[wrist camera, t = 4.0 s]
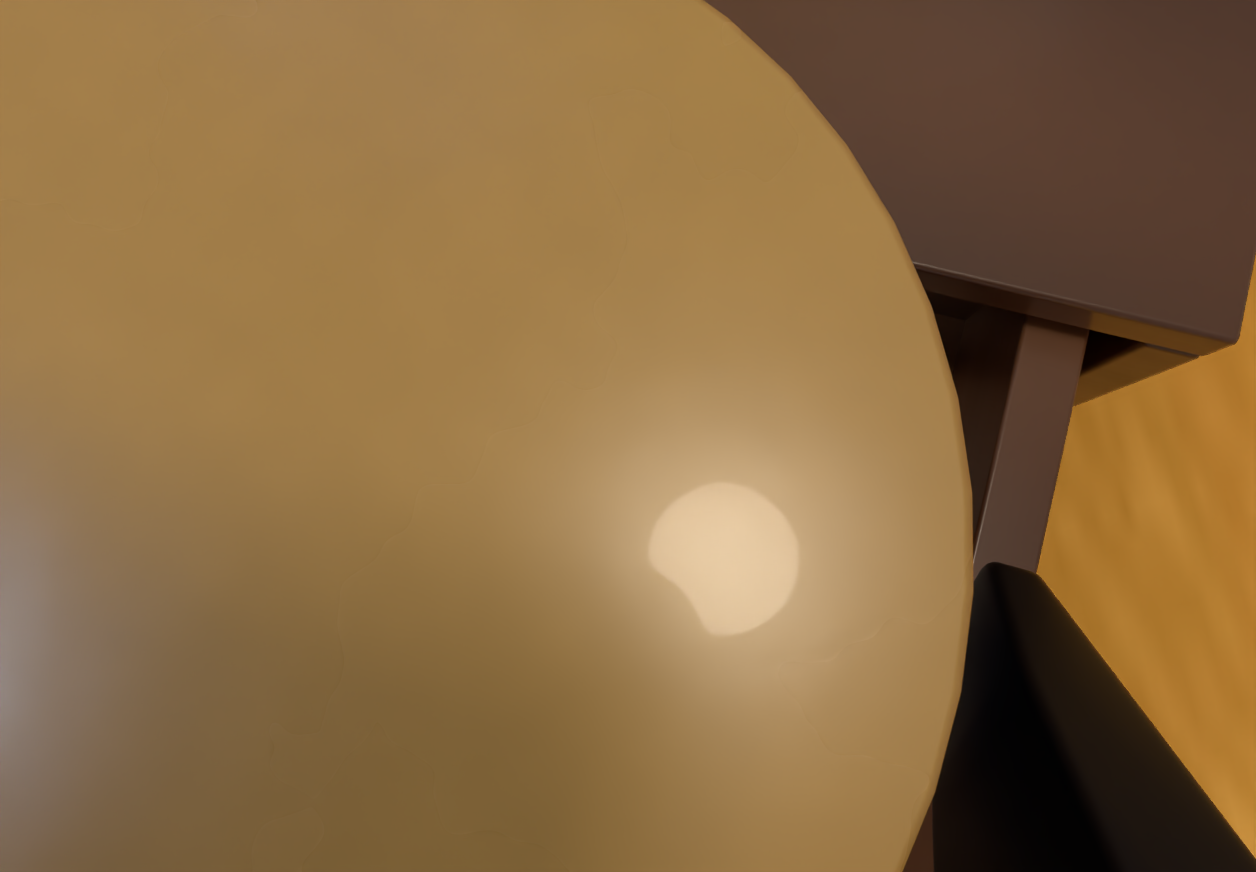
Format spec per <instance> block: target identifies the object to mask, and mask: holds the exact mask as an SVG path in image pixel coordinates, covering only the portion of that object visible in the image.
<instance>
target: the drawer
mask: <svg viewBox="0 0 1256 872" xmlns="http://www.w3.org/2000/svg"><path fill="white" fill-rule="evenodd" d="M925 292H926V294H927V297H928V299H929V301H930V303H931V306H932V309H933V312H934V316H935V319H936V323H937V326H938V329H939V333H940V336H941V340H942V343H943V347H944V350H945V354H946V357H947V361H948V364H949V367H950V371H951V374H952V378H953V381H954V385H955V388H956V392H957V395H958V400H959V407H960V414H961V420H962V427H963V434H964V441H965V447H966V454H967V461H968V468H969V474H970V481H971V488H972V514H973V582H974V580H975V579H976V577H977V575H978V573H979V572H980V570H981V569H982V568H983V567H984V566H985V565H986V564H987V563H991V562H1000V563H1003V564H1007V565H1011V566H1014V567H1018V568H1022V569H1025V570H1029V571H1032V572H1034V573H1036V572H1037V567H1038V563H1039V558H1040V554H1041V549H1042V545H1043V540H1044V535H1045V531H1046V526H1047V522H1048V517H1049V513H1050V508H1051V504H1052V499H1053V494H1054V490H1055V485H1056V481H1057V476H1058V472H1059V467H1060V463H1061V458H1062V454H1063V449H1064V444H1065V440H1066V435H1067V431H1068V426H1069V422H1070V417H1071V413H1072V408H1073V403H1074V399H1075V394H1076V390H1077V385H1078V381H1079V376H1080V372H1081V367H1082V362H1083V358H1084V353H1085V349H1086V344H1087V340H1088V335H1089V331H1090V329H1086V328H1081V327H1077V326H1073V325H1069V324H1065V323H1060V322H1056V321H1052V320H1048V319H1044V318H1039V317H1035V316H1031V315H1027V314H1023V313H1018V312H1014V311H1010V310H1006V309H1002V308H997V307H993V306H989V305H985V304H981V303H976V302H972V301H968V300H964V299H960V298H955V297H951V296H947V295H943V294H939V293H934V292H930V291H926V290H925ZM903 872H934V863H933V833H932V802H931V804H930V807H929V809H928V812H927V814H926V817H925V819H924V821H923V824H922V826H921V829H920V831H919V834H918V836H917V839H916V841H915V843H914V846H913V848H912V851H911V853H910V856H909V858H908V861H907V863H906V865H905V868H904V870H903Z"/></svg>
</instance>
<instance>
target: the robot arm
mask: <svg viewBox="0 0 1256 872" xmlns="http://www.w3.org/2000/svg"><path fill="white" fill-rule="evenodd" d="M973 587H974V592H973V600H972V609H971V617H970V625H969V633H968V642H967V650H966V658H965V667H964V675H963V683H962V692H961V696H960V700H959V703H958V707H957V711H956V715H955V719H954V723H953V727H952V730H951V734H950V738H949V742H948V746H947V750H946V754H945V757H944V761H943V765H942V769H941V773H940V777H939V781H938V784H937V788H936V792H935V795H934V797H933V799H932V833H933V863H934V872H1256V859H1255V857H1254V856H1253V855H1252V853H1251V852H1250V851H1249V849H1248V848H1247V847H1246V846H1245V844H1244V843H1243V842H1242V840H1241V839H1240V838H1239V836H1238V835H1237V834H1236V832H1235V831H1234V830H1233V828H1232V827H1231V826H1230V825H1229V823H1228V822H1227V821H1226V819H1225V818H1224V817H1223V815H1222V814H1221V813H1220V811H1219V810H1218V809H1217V808H1216V806H1215V805H1214V804H1213V802H1212V801H1211V800H1210V798H1209V797H1208V796H1207V794H1206V793H1205V792H1204V790H1203V789H1202V788H1201V787H1200V785H1199V784H1198V783H1197V781H1196V780H1195V779H1194V777H1193V776H1192V775H1191V773H1190V772H1189V771H1188V769H1187V768H1186V767H1185V766H1184V764H1183V763H1182V762H1181V760H1180V759H1179V758H1178V756H1177V755H1176V754H1175V752H1174V751H1173V750H1172V748H1171V747H1170V746H1169V745H1168V743H1167V742H1166V741H1165V739H1164V738H1163V737H1162V735H1161V734H1160V733H1159V731H1158V730H1157V729H1156V727H1155V726H1154V725H1153V724H1152V722H1151V721H1150V720H1149V718H1148V717H1147V716H1146V714H1145V713H1144V712H1143V710H1142V709H1141V708H1140V707H1139V705H1138V704H1137V703H1136V701H1135V700H1134V699H1133V697H1132V696H1131V695H1130V693H1129V692H1128V691H1127V689H1126V688H1125V687H1124V686H1123V684H1122V683H1121V682H1120V680H1119V679H1118V678H1117V676H1116V675H1115V674H1114V672H1113V671H1112V670H1111V668H1110V667H1109V666H1108V665H1107V663H1106V662H1105V661H1104V659H1103V658H1102V657H1101V655H1100V654H1099V653H1098V651H1097V650H1096V649H1095V647H1094V646H1093V645H1092V644H1091V642H1090V641H1089V640H1088V638H1087V637H1086V636H1085V634H1084V633H1083V632H1082V630H1081V629H1080V628H1079V626H1078V625H1077V624H1076V623H1075V621H1074V620H1073V619H1072V617H1071V616H1070V615H1069V613H1068V612H1067V611H1066V609H1065V608H1064V607H1063V605H1062V604H1061V603H1060V602H1059V600H1058V599H1057V598H1056V596H1055V595H1054V594H1053V592H1052V591H1051V590H1050V588H1049V587H1048V586H1047V585H1046V583H1045V582H1044V581H1043V580H1042V578H1041V577H1040V576H1039V575H1037V574H1036V573H1034V572H1032V571H1029V570H1025V569H1022V568H1018V567H1014V566H1011V565H1007V564H1003V563H1000V562H991V563H987V564H986V565H985V566H984V567H983V568H982V569H981V570H980V572H979V573H978V575H977V577H976V579H975V580H974V582H973Z"/></svg>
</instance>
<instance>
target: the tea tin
mask: <svg viewBox="0 0 1256 872" xmlns="http://www.w3.org/2000/svg"><path fill="white" fill-rule="evenodd" d="M973 592H974V587H973V514H972V488H971V481H970V474H969V468H968V461H967V454H966V447H965V441H964V434H963V427H962V420H961V414H960V407H959V400H958V395H957V392H956V388H955V385H954V381H953V378H952V374H951V371H950V367H949V364H948V361H947V357H946V354H945V350H944V347H943V343H942V340H941V336H940V333H939V329H938V326H937V323H936V319H935V316H934V312H933V309H932V306H931V303H930V301H929V299H928V297H927V294H926V292H925V290H924V288H923V285H922V283H921V281H920V279H919V276H918V274H917V272H916V269H915V267H914V265H913V263H912V260H911V258H910V256H909V254H908V251H907V249H906V247H905V245H904V242H903V240H902V238H901V236H900V233H899V231H898V229H897V226H896V224H895V222H894V221H893V219H892V217H891V216H890V214H889V212H888V211H887V209H886V207H885V206H884V204H883V203H882V201H881V199H880V198H879V196H878V194H877V193H876V191H875V190H874V188H873V186H872V185H871V183H870V181H869V180H868V178H867V177H866V175H865V173H864V172H863V170H862V168H861V167H860V165H859V164H858V162H857V160H856V159H855V157H854V155H853V154H852V152H851V151H850V149H849V147H848V146H847V144H846V143H845V142H844V141H843V139H842V138H841V137H840V136H839V135H838V133H837V132H836V131H835V130H834V128H833V127H832V126H831V125H830V124H829V122H828V121H827V120H826V119H825V117H824V116H823V115H822V114H821V113H820V111H819V110H818V109H817V108H816V106H815V105H814V104H813V103H812V101H811V100H810V99H809V98H808V97H807V95H806V94H805V93H804V92H803V90H802V89H801V88H800V87H799V86H798V84H797V83H796V82H795V81H794V79H793V78H792V77H791V76H790V75H789V74H788V73H787V72H786V71H785V70H784V69H782V68H781V67H780V66H779V65H778V64H777V63H776V62H775V61H774V60H773V59H772V58H771V57H770V56H769V55H767V54H766V53H765V52H764V51H763V50H762V49H761V48H760V47H759V46H758V45H757V44H756V43H755V42H754V41H752V40H751V39H750V38H749V37H748V36H747V35H746V34H745V33H744V32H743V31H742V30H741V29H740V28H739V27H737V26H736V25H735V24H734V23H733V22H732V21H731V20H730V19H729V18H728V17H726V16H725V15H723V14H722V13H721V12H719V11H718V10H716V9H715V8H714V7H712V6H711V5H709V4H708V3H706V2H705V1H704V0H0V872H903V870H904V868H905V865H906V863H907V861H908V858H909V856H910V853H911V851H912V848H913V846H914V843H915V841H916V839H917V836H918V834H919V831H920V829H921V826H922V824H923V821H924V819H925V817H926V814H927V812H928V809H929V807H930V804H931V802H932V799H933V797H934V795H935V792H936V788H937V784H938V781H939V777H940V773H941V769H942V765H943V761H944V757H945V754H946V750H947V746H948V742H949V738H950V734H951V730H952V727H953V723H954V719H955V715H956V711H957V707H958V703H959V700H960V696H961V692H962V683H963V675H964V667H965V658H966V650H967V642H968V633H969V625H970V617H971V609H972V600H973Z"/></svg>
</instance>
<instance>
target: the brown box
mask: <svg viewBox="0 0 1256 872" xmlns="http://www.w3.org/2000/svg"><path fill="white" fill-rule="evenodd" d="M704 1H705V2H706V3H708V4H709V5H711V6H712V7H714V8H715V9H716V10H718V11H719V12H721V13H722V14H723V15H725V16H726V17H728V18H729V19H730V20H731V21H732V22H733V23H734V24H735V25H736V26H737V27H739V28H740V29H741V30H742V31H743V32H744V33H745V34H746V35H747V36H748V37H749V38H750V39H751V40H752V41H754V42H755V43H756V44H757V45H758V46H759V47H760V48H761V49H762V50H763V51H764V52H765V53H766V54H767V55H769V56H770V57H771V58H772V59H773V60H774V61H775V62H776V63H777V64H778V65H779V66H780V67H781V68H782V69H784V70H785V71H786V72H787V73H788V74H789V75H790V76H791V77H792V78H793V79H794V81H795V82H796V83H797V84H798V86H799V87H800V88H801V89H802V90H803V92H804V93H805V94H806V95H807V97H808V98H809V99H810V100H811V101H812V103H813V104H814V105H815V106H816V108H817V109H818V110H819V111H820V113H821V114H822V115H823V116H824V117H825V119H826V120H827V121H828V122H829V124H830V125H831V126H832V127H833V128H834V130H835V131H836V132H837V133H838V135H839V136H840V137H841V138H842V139H843V141H844V142H845V143H846V144H847V146H848V147H849V149H850V151H851V152H852V154H853V155H854V157H855V159H856V160H857V162H858V164H859V165H860V167H861V168H862V170H863V172H864V173H865V175H866V177H867V178H868V180H869V181H870V183H871V185H872V186H873V188H874V190H875V191H876V193H877V194H878V196H879V198H880V199H881V201H882V203H883V204H884V206H885V207H886V209H887V211H888V212H889V214H890V216H891V217H892V219H893V221H894V222H895V224H896V226H897V229H898V231H899V233H900V236H901V238H902V240H903V242H904V245H905V247H906V249H907V251H908V254H909V256H910V258H911V260H912V263H913V265H914V267H915V269H916V272H917V274H918V276H919V279H920V281H921V283H922V285H923V288H924V290H926V291H930V292H934V293H939V294H943V295H947V296H951V297H955V298H960V299H964V300H968V301H972V302H976V303H981V304H985V305H989V306H993V307H997V308H1002V309H1006V310H1010V311H1014V312H1018V313H1023V314H1027V315H1031V316H1035V317H1039V318H1044V319H1048V320H1052V321H1056V322H1060V323H1065V324H1069V325H1073V326H1077V327H1081V328H1086V329H1090V331H1089V335H1088V340H1087V344H1086V349H1085V353H1084V358H1083V362H1082V367H1081V372H1080V376H1079V381H1078V385H1077V390H1076V394H1075V399H1074V403H1073V407H1074V406H1076V405H1079V404H1081V403H1084V402H1087V401H1089V400H1092V399H1094V398H1097V397H1099V396H1102V395H1105V394H1107V393H1110V392H1112V391H1115V390H1117V389H1120V388H1123V387H1125V386H1128V385H1130V384H1133V383H1135V382H1138V381H1140V380H1143V379H1146V378H1148V377H1151V376H1153V375H1156V374H1158V373H1161V372H1164V371H1166V370H1169V369H1171V368H1174V367H1176V366H1179V365H1181V364H1184V363H1187V362H1189V361H1192V360H1194V359H1197V358H1198V357H1199V356H1204V355H1208V354H1211V353H1213V352H1216V351H1218V350H1221V349H1223V348H1226V347H1229V346H1231V345H1234V344H1235V343H1236V342H1237V341H1238V339H1239V336H1240V331H1241V326H1242V321H1243V316H1244V310H1245V305H1246V300H1247V295H1248V290H1249V285H1250V280H1251V275H1252V270H1253V265H1254V260H1255V255H1256V0H704Z"/></svg>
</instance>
